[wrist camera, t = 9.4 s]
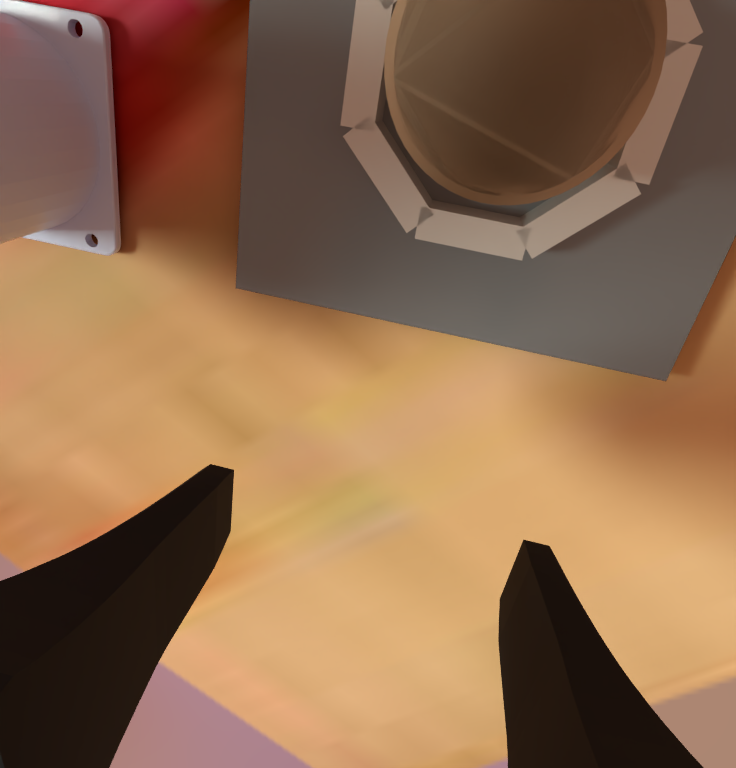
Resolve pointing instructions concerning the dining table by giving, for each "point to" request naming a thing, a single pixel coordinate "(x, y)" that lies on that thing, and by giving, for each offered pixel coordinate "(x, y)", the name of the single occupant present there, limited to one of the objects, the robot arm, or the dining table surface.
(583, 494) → the dining table surface
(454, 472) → the dining table surface
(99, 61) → the robot arm
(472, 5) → the cup
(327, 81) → the collar board
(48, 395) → the dining table surface
